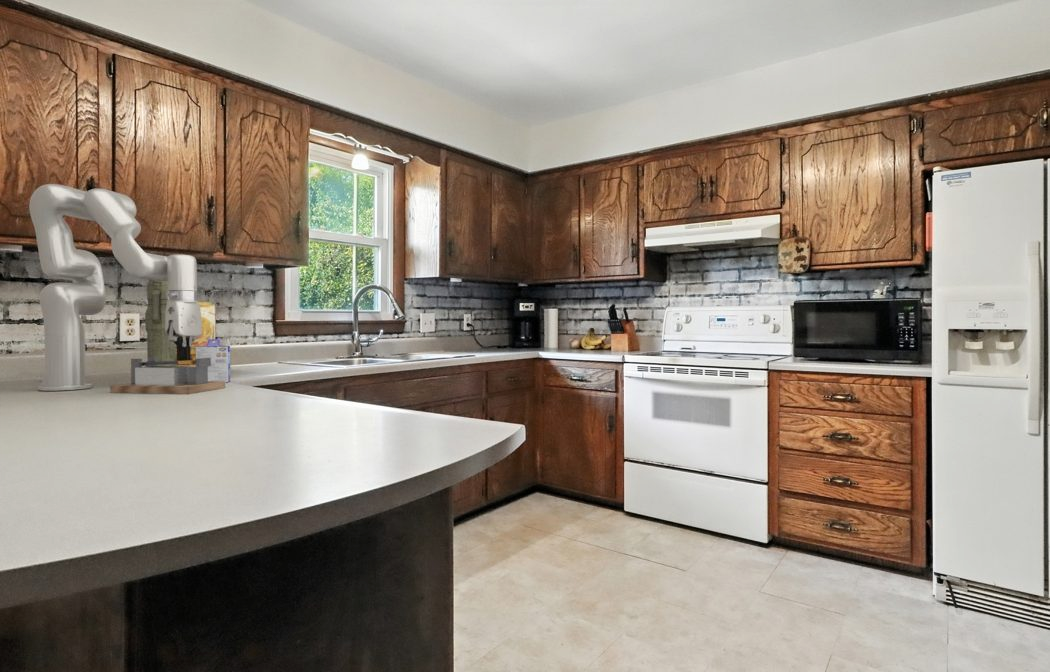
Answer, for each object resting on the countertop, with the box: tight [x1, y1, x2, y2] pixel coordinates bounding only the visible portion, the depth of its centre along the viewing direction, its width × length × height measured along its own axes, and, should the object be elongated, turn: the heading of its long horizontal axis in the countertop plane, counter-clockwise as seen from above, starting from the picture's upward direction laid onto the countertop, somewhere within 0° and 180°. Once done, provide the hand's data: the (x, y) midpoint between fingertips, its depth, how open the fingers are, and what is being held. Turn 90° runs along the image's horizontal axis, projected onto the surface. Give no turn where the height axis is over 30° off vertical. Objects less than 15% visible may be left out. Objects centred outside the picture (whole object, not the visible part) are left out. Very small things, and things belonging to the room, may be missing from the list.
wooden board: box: [109, 381, 226, 395], centre depth 172 cm, size 24×16×2 cm, turn 83°
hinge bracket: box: [130, 357, 158, 384], centre depth 173 cm, size 2×7×7 cm, turn 173°
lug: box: [188, 358, 211, 385], centre depth 171 cm, size 3×5×8 cm
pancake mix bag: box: [176, 300, 217, 365], centre depth 206 cm, size 7×19×28 cm, turn 118°
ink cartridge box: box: [196, 338, 232, 383], centre depth 196 cm, size 10×6×14 cm, turn 110°
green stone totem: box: [144, 280, 177, 367], centre depth 192 cm, size 9×12×35 cm
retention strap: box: [142, 360, 196, 367], centre depth 172 cm, size 18×6×1 cm, turn 83°
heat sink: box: [135, 365, 196, 386], centre depth 172 cm, size 12×12×5 cm
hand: (183, 360), depth 171 cm, fingers closed
